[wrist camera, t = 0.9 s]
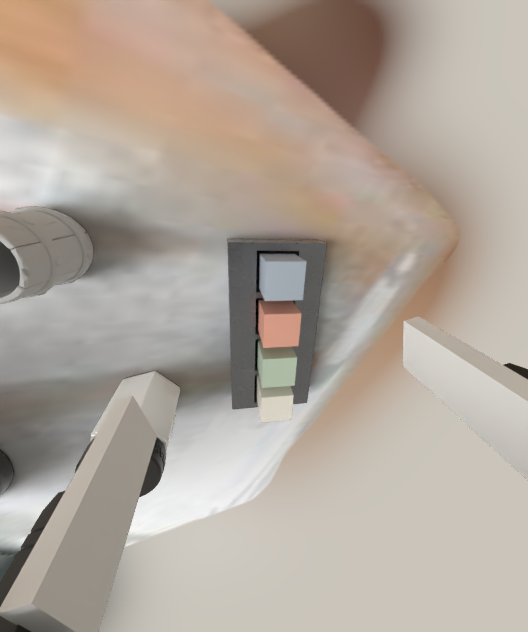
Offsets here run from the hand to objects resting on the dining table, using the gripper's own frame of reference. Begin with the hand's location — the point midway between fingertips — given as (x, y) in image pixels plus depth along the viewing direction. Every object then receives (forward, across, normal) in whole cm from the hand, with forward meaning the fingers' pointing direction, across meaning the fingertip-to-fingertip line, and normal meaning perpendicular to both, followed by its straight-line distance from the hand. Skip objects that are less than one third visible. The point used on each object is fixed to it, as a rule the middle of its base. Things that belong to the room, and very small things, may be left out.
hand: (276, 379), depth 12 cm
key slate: (+19, +4, 0) cm, 19 cm away
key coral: (+18, +2, -5) cm, 19 cm away
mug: (+21, -21, +9) cm, 31 cm away
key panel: (+21, +1, -8) cm, 23 cm away
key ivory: (+19, -1, -16) cm, 25 cm away
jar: (+21, -18, -14) cm, 31 cm away
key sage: (+19, +1, -11) cm, 21 cm away
